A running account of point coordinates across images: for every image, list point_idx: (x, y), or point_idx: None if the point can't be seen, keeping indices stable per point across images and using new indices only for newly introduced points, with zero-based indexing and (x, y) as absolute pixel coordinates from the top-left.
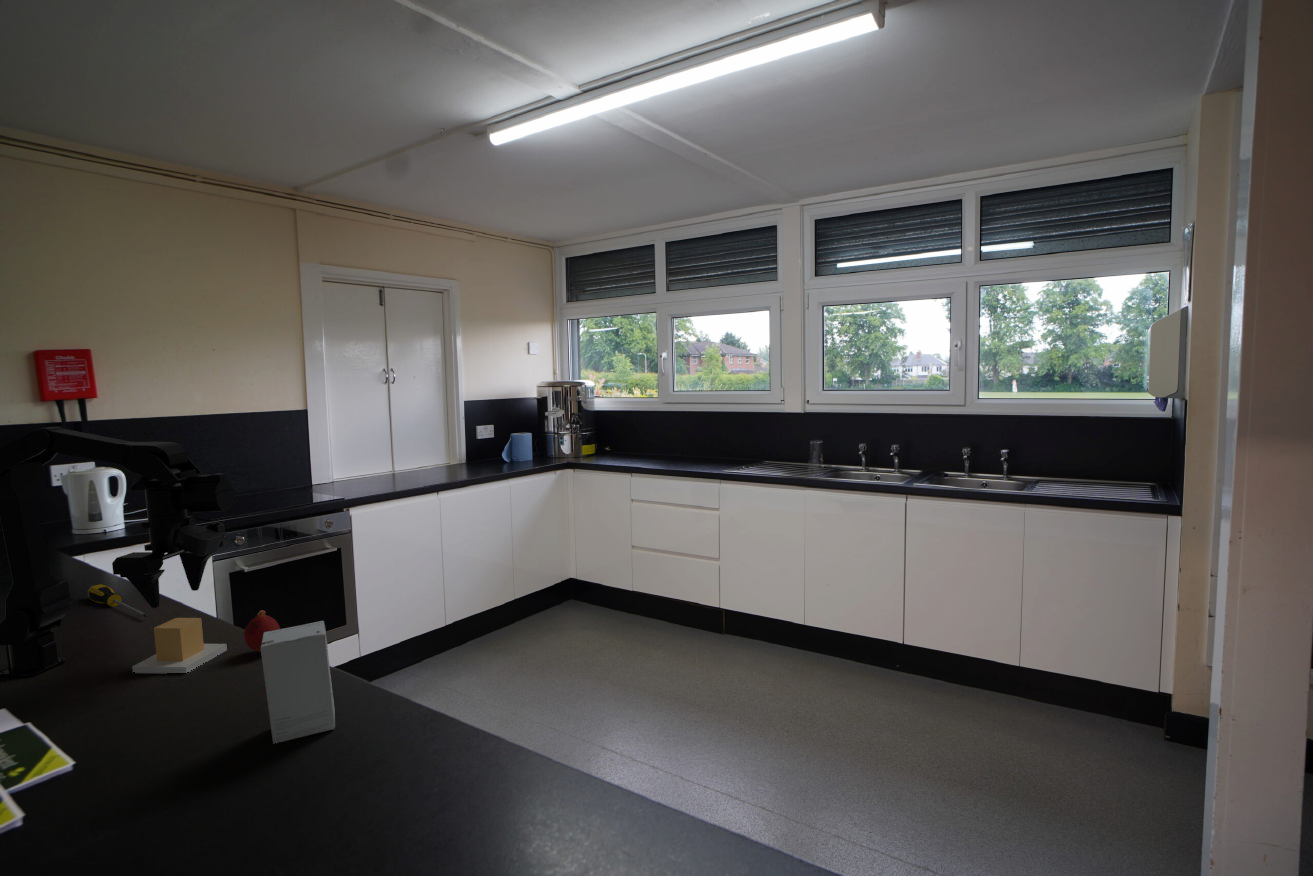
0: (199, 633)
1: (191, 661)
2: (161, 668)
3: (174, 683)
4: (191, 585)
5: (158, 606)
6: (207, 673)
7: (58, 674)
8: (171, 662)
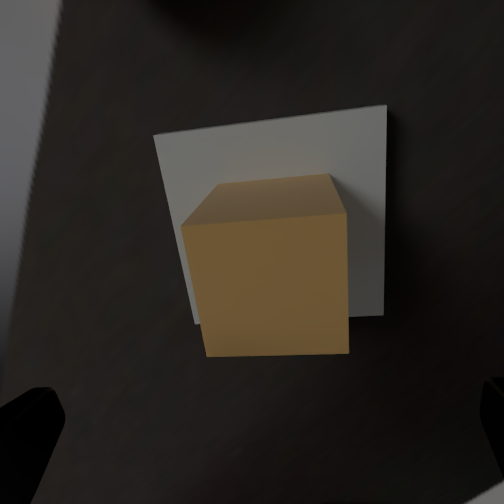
0: (220, 201)
1: (331, 131)
2: (384, 210)
3: (468, 75)
4: (40, 456)
5: (500, 378)
6: (371, 9)
7: (389, 470)
8: (345, 207)
